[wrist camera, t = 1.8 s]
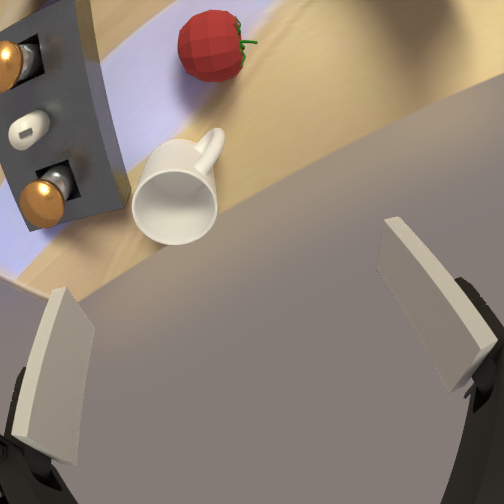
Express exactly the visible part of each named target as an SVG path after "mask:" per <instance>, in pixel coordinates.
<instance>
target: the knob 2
mask: <svg viewBox="0 0 504 504" xmlns="http://www.w3.org/2000/svg"><path fill="white" fill-rule="evenodd" d="M76 185H77V183H76V180H75V178H74V175H73V172H72V169H71V166H70V164H69V163H67V162H59V163H56V164H54V165H53V166H52V167H51V168H50V169H49V170H48V171H47V172H46V173H45V174H44V175H43V176H42V178H41V179H35V180H33V181H31V182H30V183H29V184H28V185H27V186H26V187H25V188H24V189H23V191H22V193H21V195H20V208H21V211H22V213H23V215H24V217H25V218H26V219H27V220H28V221H29V222H30V223H31V224H33V225H34V226H36V227H39V228H50V227H53V226H54V225H56V224H57V223H58V222H59V220H60V218H61V217H62V215H63V213H64V211H65V201H66V200H67V198H68V197H69V195H70V194H71V192H72V191H73V189H74V188H75V187H76Z"/></svg>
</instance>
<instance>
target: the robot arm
mask: <svg viewBox="0 0 504 504" xmlns="http://www.w3.org/2000/svg"><path fill="white" fill-rule="evenodd" d="M376 271H377V272H378V274H379V276H380V277H381V279H382V280H383V282H384V283H385V285H386V286H387V288H388V289H389V291H390V293H391V294H392V296H393V297H394V299H395V301H396V302H397V304H398V305H399V307H400V309H401V310H402V312H403V314H404V315H405V317H406V318H407V320H408V322H409V323H410V325H411V327H412V329H413V330H414V332H415V333H416V335H417V337H418V339H419V341H420V342H421V344H422V346H423V348H424V349H425V351H426V353H427V355H428V356H429V358H430V360H431V362H432V363H433V365H434V367H435V369H436V371H437V373H438V375H439V377H440V379H441V380H442V382H443V384H444V386H445V388H446V390H447V392H448V394H449V393H451V392H453V391H455V390H457V389H459V388H461V387H463V386H464V385H465V384H466V383H467V382H468V381H469V379H470V378H471V377H472V379H473V381H474V384H473V385H472V386H471V387H470V388H469V389H468V391H467V392H466V393H465V395H464V398H467V397H468V396H469V395H470V394H471V396H470V401H469V407H468V412H467V417H466V421H465V425H464V430H463V434H462V438H461V442H460V446H459V449H458V453H457V456H456V460H455V463H454V466H453V469H452V473H451V476H450V479H449V482H448V484H447V487H446V490H445V493H444V495H443V498H442V501H441V503H440V504H504V327H503V325H502V324H501V323H500V321H499V320H498V318H497V317H496V316H495V314H494V313H493V312H492V310H491V309H490V308H489V306H488V305H486V302H485V301H484V300H483V298H482V297H480V294H479V293H478V292H477V291H476V289H475V288H474V287H473V286H472V285H471V284H470V283H468V282H467V281H466V280H464V279H463V278H461V277H460V278H456V279H453V278H452V277H451V275H450V274H449V273H448V272H447V271H446V269H445V268H444V267H443V266H442V264H441V263H440V262H439V261H438V260H437V258H436V257H435V256H434V255H433V254H432V253H431V252H430V250H429V249H428V248H427V247H426V246H425V245H424V243H423V242H422V241H421V240H420V239H419V238H418V237H417V236H416V234H415V233H414V232H413V231H412V230H411V229H410V228H409V227H408V226H407V225H406V223H405V222H404V221H403V220H402V219H401V218H400V217H393V218H388V219H384V220H383V226H382V235H381V242H380V249H379V257H378V263H377V270H376ZM94 333H95V328H94V326H93V325H92V323H91V322H90V321H89V319H88V318H87V316H86V315H85V313H84V312H83V311H82V309H81V308H80V306H79V305H78V303H77V302H76V300H75V299H74V297H73V296H72V294H71V292H70V291H69V289H68V288H67V286H66V287H62V288H57V289H53V291H52V293H51V296H50V298H49V301H48V304H47V306H46V309H45V312H44V314H43V317H42V320H41V323H40V326H39V329H38V332H37V334H36V338H35V341H34V344H33V347H32V350H31V353H30V357H29V360H28V364H27V367H23V369H22V370H21V372H20V374H19V376H18V377H17V380H16V384H15V388H14V392H13V396H12V401H11V404H10V409H9V414H8V418H7V423H6V428H5V433H4V437H3V436H2V435H0V494H1V497H0V504H78V503H77V501H76V500H75V498H74V497H73V495H72V494H71V492H70V491H69V489H68V488H67V486H66V484H65V483H64V481H63V480H62V478H61V476H60V475H59V473H58V471H57V470H56V468H55V467H54V466H53V465H52V464H51V459H53V460H55V461H57V462H59V463H61V464H68V465H77V454H78V441H79V429H80V420H81V411H82V404H83V396H84V389H85V383H86V376H87V370H88V364H89V359H90V353H91V348H92V343H93V338H94Z"/></svg>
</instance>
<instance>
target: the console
mask: <svg viewBox="0 0 504 504" xmlns="http://www.w3.org/2000/svg"><path fill="white" fill-rule="evenodd" d="M0 41H13V42H15V43H17V44H18V45H22V44H31V43H36V42H38V41H39V44H40V50H41V55H42V60H43V66H44V70H45V73H44V74H42V75H40V76H38V77H36V78H34V79H31V80H30V77H29V78H26V79H23V80H20V81H17V82H16V84H15V85H14V86H13V87H12V88H11V89H9V90H8V91H6V92H3V93H1V94H0V163H1V166H2V169H3V171H4V174H5V177H6V179H7V182H8V184H9V187H10V189H11V192H12V194H13V196H14V199H15V201H16V203H17V206H18V208H19V210H20V212H21V214H22V217H23V219H24V221H25V223H26V225H27V227H28V229H29V231H30V232H31V231H35V230H38V229H42V228H39V227H36V226H34V225H33V224H31V223H30V222H29V221H28V220H27V219H26V218H25V217H24V215H23V213H22V211H21V208H20V195H21V193H22V191H23V189H24V188H25V187H26V186H27V185H28V184H29V183H30V182H31V181H33V180H35V179H41V178H42V176H43V175H44V174H45V173H46V172H47V171H48V170H49V169H50V168H51V167H52V166H53V165H54V164H56V163H59V162H62V161H65V160H69V163H70V166H71V169H72V172H73V175H74V178H75V180H76V183H77V185H76V187H75V188H74V189H73V191H72V192H71V194H70V195H69V197H68V198H67V200H66V201H65V211H64V213H63V215H62V217H61V218H60V220H59V222H58V223H57V224H60V223H64V222H68V221H72V220H76V219H80V218H84V217H88V216H92V215H96V214H100V213H104V212H109V211H113V210H117V209H122V208H124V206H125V203H126V201H127V198H128V196H129V193H130V191H131V187H130V183H129V180H128V177H127V173H126V170H125V166H124V163H123V159H122V155H121V152H120V148H119V144H118V141H117V137H116V133H115V129H114V125H113V121H112V117H111V113H110V109H109V104H108V100H107V95H106V91H105V86H104V82H103V77H102V72H101V67H100V62H99V56H98V51H97V45H96V39H95V33H94V27H93V20H92V13H91V6H90V0H61V1H58V2H56V3H54V4H52V5H49V6H47V7H45V8H43V9H41V10H39V11H37V12H35V13H33V14H31V15H29V16H27V17H25V18H24V19H22V20H20V21H18V22H16V23H15V24H13V25H11V26H9V27H8V28H6V29H4V30H3V31H1V32H0ZM35 110H42V111H44V112H45V113H46V114H47V115H48V117H49V119H50V128H49V130H48V132H47V134H46V135H44V136H43V137H42V138H40V139H39V140H38V141H37V142H35V143H34V144H33V145H31V146H30V147H29V148H27V149H26V150H17V149H15V148H14V147H13V146H12V145H11V143H10V141H9V129H10V127H11V125H12V124H13V123H14V122H15V121H16V120H18V119H20V118H22V117H23V116H25V115H27V114H29V113H31V112H33V111H35ZM57 224H56V225H57Z"/></svg>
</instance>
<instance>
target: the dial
mask: <svg viewBox="0 0 504 504" xmlns="http://www.w3.org/2000/svg"><path fill="white" fill-rule="evenodd" d="M49 128H50V119H49V117H48V115H47V114H46V113H45V112H44V111H42V110H35V111H33V112H31V113H29V114H27V115H25V116H23V117H22V118H20V119H18V120H16V121H15V122H14V123H13V124H12V125H11V127H10V129H9V141H10V143H11V145H12V146H13V147H14V148H15V149H17V150H26V149H27V148H29V147H30V146H31V145H33V144H34V143H35V142H37V141H38V140H39V139H40V138H42V137H43V136H44V135H46V134H47V132H48V130H49Z"/></svg>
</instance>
